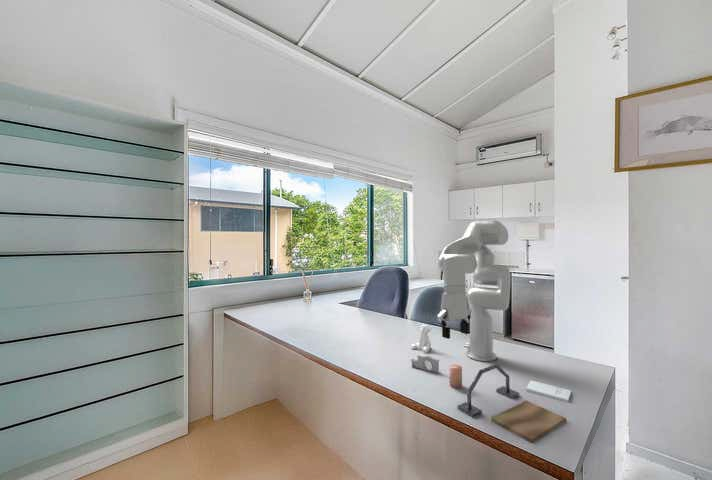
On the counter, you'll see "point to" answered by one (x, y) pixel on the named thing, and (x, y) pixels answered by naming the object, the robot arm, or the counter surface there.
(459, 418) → the counter surface
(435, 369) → the garden wall model
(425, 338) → the seated beast figurine
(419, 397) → the counter surface
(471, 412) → the grey cabinet handle
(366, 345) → the counter surface
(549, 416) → the walnut board
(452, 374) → the peach domed cylinder
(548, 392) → the external hard drive
